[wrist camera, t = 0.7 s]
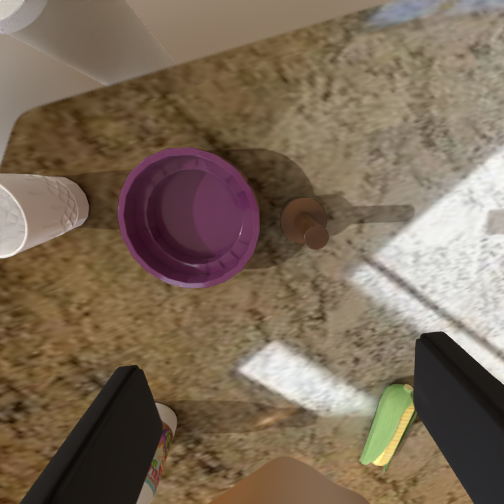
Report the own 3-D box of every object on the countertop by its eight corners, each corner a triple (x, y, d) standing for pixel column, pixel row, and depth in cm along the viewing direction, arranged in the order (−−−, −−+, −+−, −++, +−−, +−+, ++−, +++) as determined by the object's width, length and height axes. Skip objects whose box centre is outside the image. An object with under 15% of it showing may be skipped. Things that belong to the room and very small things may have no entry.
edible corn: (416, 376, 40) (435, 401, 35) (377, 461, 46) (389, 491, 42) (383, 371, 40) (399, 396, 35) (349, 457, 46) (358, 487, 42)
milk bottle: (145, 436, 46) (64, 624, 27) (127, 405, 44) (26, 587, 25) (184, 429, 45) (130, 619, 26) (168, 397, 43) (96, 579, 24)
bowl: (116, 204, 33) (88, 211, 27) (205, 121, 29) (193, 112, 24) (195, 290, 36) (185, 311, 31) (283, 225, 33) (288, 236, 28)
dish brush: (270, 212, 32) (274, 232, 23) (305, 186, 31) (325, 194, 21) (294, 244, 34) (308, 276, 24) (329, 220, 32) (358, 243, 23)
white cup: (106, 212, 33) (45, 230, 23) (65, 243, 34) (-9, 272, 25) (62, 158, 31) (-25, 154, 21) (20, 193, 32) (-79, 205, 23)
